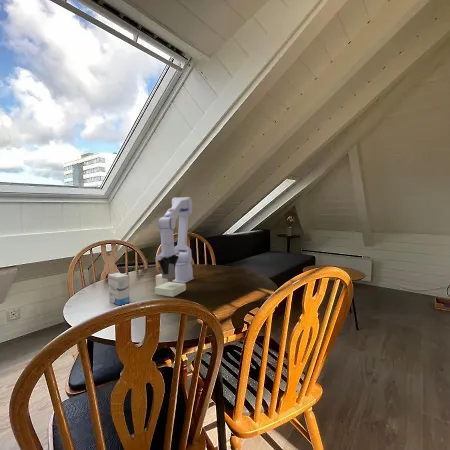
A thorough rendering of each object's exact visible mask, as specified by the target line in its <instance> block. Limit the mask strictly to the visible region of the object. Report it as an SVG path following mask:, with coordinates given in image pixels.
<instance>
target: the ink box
mask: <svg viewBox="0 0 450 450" xmlns="http://www.w3.org/2000/svg"><path fill="white" fill-rule="evenodd" d="M107 281H108V297H109V303H111V302H112V304H114V303H115V304H114V305H116V304H117V306H119V307H121V306H123V305H124V306H125V305H126V304H129V303H130V301H131V300H130V299H131V298H130V287H129V275H127V274H124V273H121V272H115V273H109V274H107ZM120 305H121V306H120Z"/></svg>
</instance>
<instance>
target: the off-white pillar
mask: <svg viewBox="0 0 450 450" xmlns="http://www.w3.org/2000/svg"><path fill="white" fill-rule="evenodd" d="M167 282H169V281H168V279H165V278H162V273H159V274H157V275H155V287H157V286H160V285H162V284H164V283H167Z"/></svg>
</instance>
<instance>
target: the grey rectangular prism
mask: <svg viewBox="0 0 450 450" xmlns="http://www.w3.org/2000/svg"><path fill="white" fill-rule="evenodd" d="M161 274H162V278H165V279H169V280H171V279H172V278H175V270H174V264H169V268H168V274H163V270H162V269H161Z"/></svg>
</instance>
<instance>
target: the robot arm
mask: <svg viewBox="0 0 450 450" xmlns="http://www.w3.org/2000/svg"><path fill="white" fill-rule="evenodd" d="M192 212H193V200H192V198H191V196H185V197H183V196H181V197H173V198H172V199H171V208H168V209H167V211H165V213H164V215H163V216H162V217H160V218H159V219H158V220H157V221H158V222H157V228H158V233H159V234H160V245H161V252H159V254H157V255H155V261H157V262H158V263H159V265H160V267H161V271H162V270H163V274H168V268H169V264H174V275H175V277H174V278H175V279H172V281H171V282H175V283H183V284H186V283H189V282H190V281H191V280H194V279H195V277H193V276H194V273H193V265H192V260H193V255H192V249H191V248H190V247H189V246H188V245H187V244H188V231H189V229H188V227H189V226H188V225H189V217H190V215H192V214H193V213H192ZM177 219H178V231H177V233H178V234H177V245H175V238H174V236H175V235H174V234H175V232H174V230H175V229H176V223H177V222H176V221H177Z"/></svg>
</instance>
